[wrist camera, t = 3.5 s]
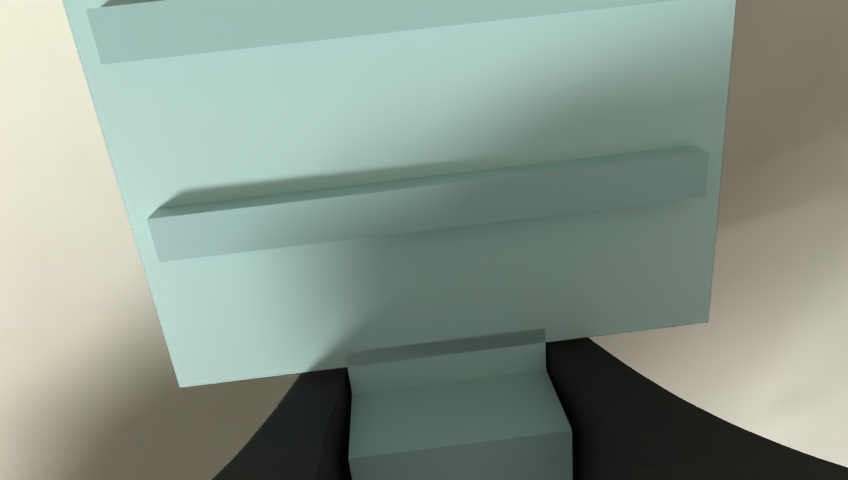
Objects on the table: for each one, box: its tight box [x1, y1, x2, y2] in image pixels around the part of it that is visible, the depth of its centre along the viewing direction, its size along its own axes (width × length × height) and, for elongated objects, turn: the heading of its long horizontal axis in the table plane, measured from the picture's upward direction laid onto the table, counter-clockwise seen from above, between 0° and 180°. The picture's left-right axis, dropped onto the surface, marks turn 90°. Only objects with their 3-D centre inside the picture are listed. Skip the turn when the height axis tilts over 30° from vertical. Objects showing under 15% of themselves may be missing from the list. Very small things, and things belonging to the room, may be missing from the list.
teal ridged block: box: [62, 0, 736, 480], centre depth 9 cm, size 12×8×6 cm, turn 6°
